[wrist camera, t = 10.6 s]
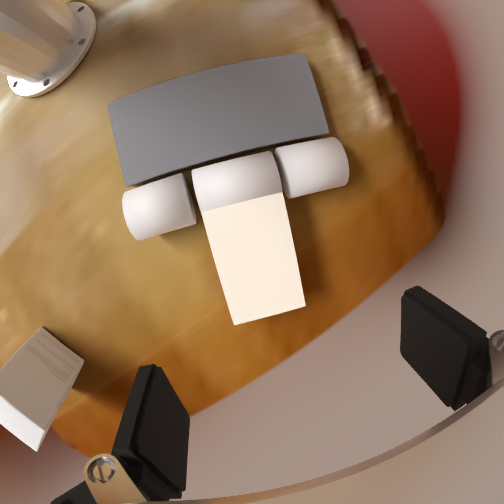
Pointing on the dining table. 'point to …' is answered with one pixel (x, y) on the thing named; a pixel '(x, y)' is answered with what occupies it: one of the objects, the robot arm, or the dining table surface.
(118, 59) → the dining table surface
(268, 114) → the fixed leaf
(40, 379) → the supplement box
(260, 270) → the cream hinge flap
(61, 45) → the robot arm
